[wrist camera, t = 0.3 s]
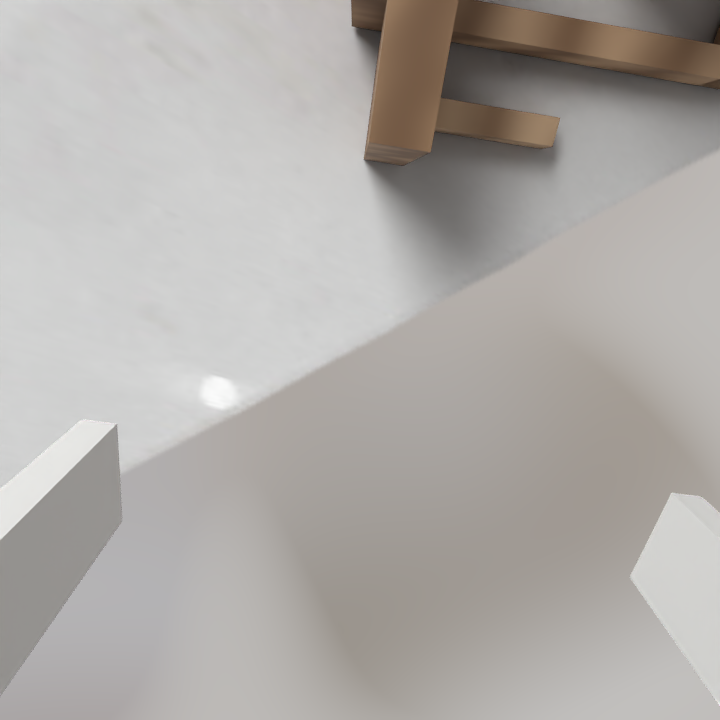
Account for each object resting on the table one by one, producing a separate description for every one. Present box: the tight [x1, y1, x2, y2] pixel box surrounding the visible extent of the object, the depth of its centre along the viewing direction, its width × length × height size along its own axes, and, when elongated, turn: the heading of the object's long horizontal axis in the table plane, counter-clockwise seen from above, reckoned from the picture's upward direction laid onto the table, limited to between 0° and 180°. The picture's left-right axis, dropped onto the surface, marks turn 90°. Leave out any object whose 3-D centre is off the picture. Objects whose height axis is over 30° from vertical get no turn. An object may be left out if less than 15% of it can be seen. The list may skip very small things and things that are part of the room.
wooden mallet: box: [364, 0, 560, 166], centre depth 26 cm, size 13×7×13 cm, turn 82°
